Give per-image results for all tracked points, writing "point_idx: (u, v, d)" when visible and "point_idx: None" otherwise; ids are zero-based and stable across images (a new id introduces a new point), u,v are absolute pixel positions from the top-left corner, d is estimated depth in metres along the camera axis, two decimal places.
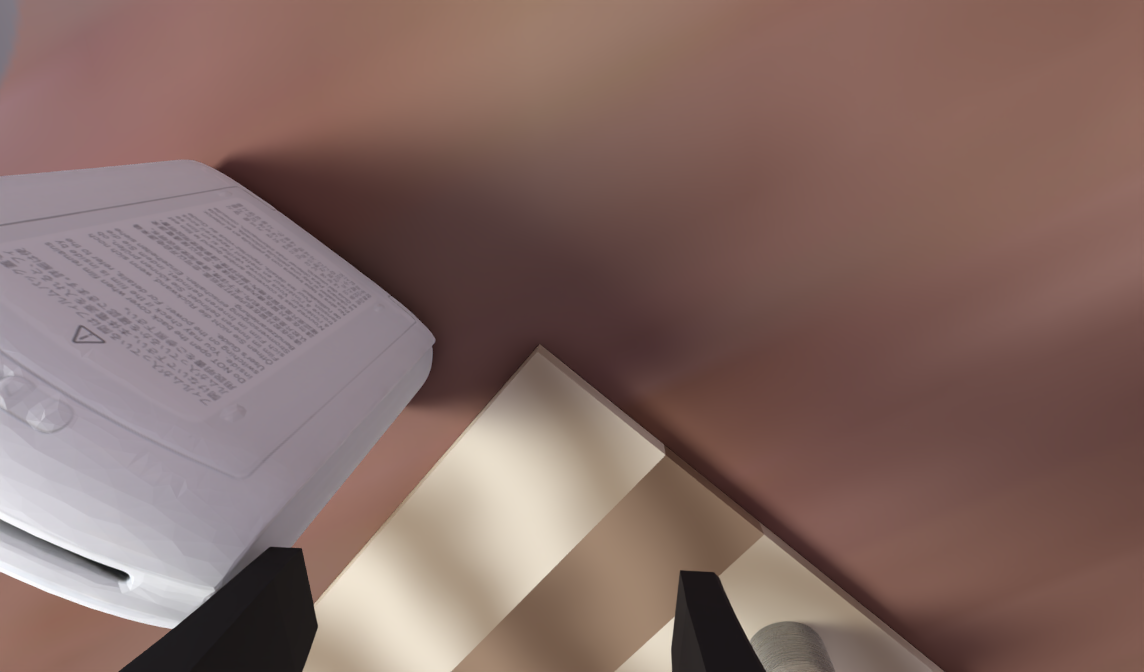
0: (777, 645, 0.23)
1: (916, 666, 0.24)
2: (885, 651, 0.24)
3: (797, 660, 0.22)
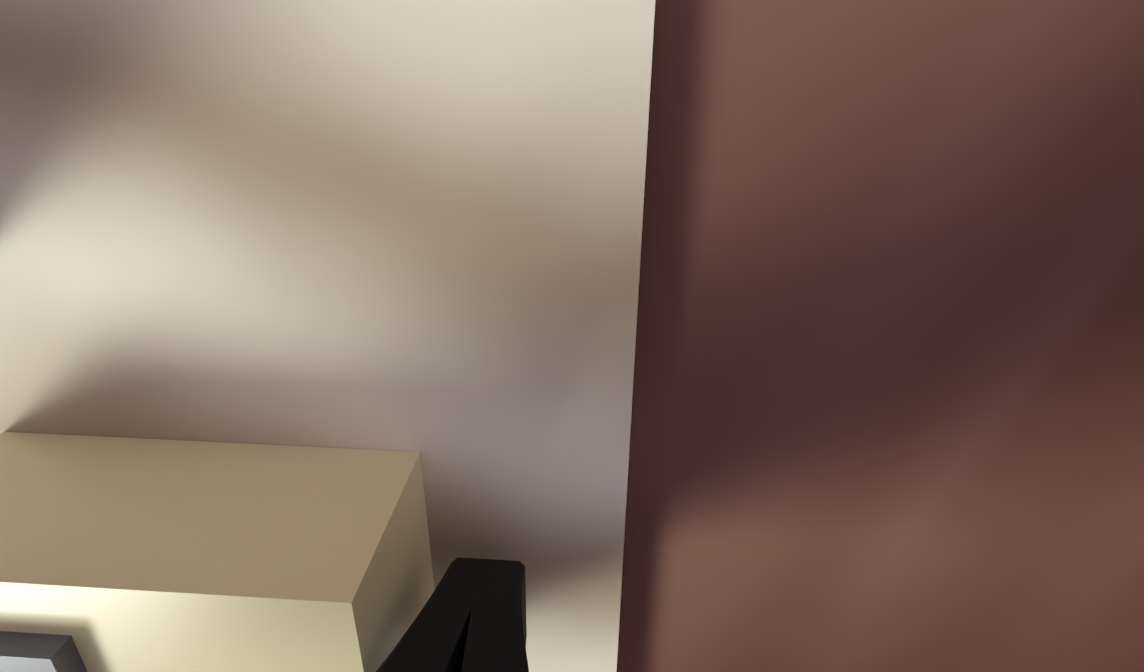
0: None
1: (63, 12, 0.09)
2: None
3: None
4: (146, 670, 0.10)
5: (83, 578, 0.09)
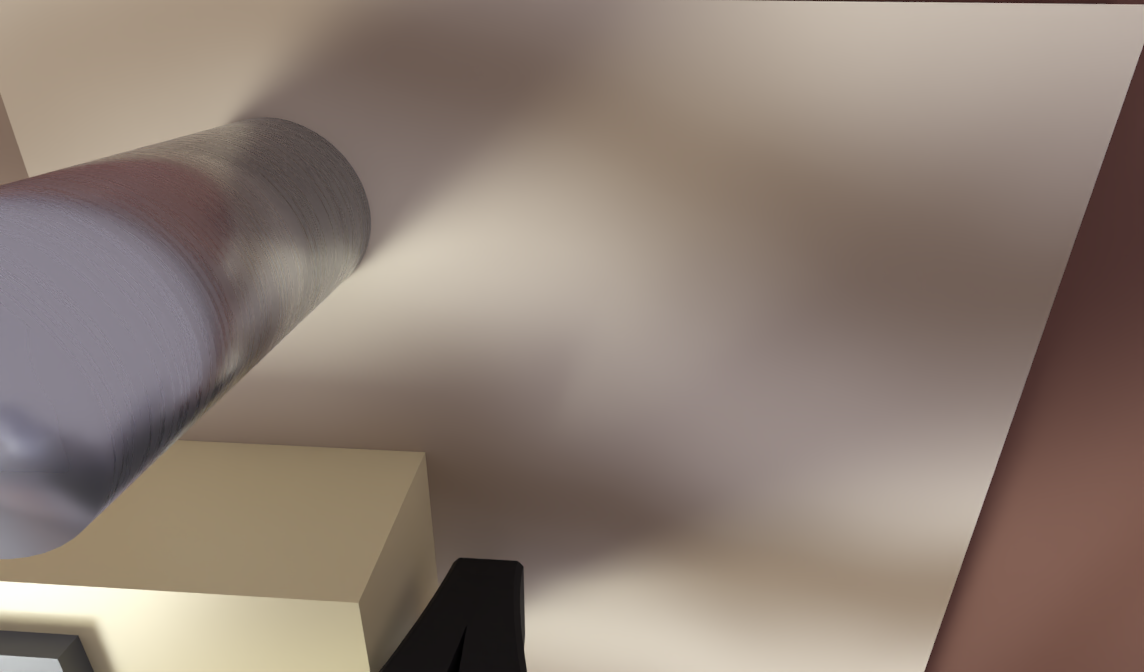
0: None
1: (516, 20, 0.09)
2: (426, 41, 0.09)
3: None
4: (153, 669, 0.10)
5: (90, 577, 0.09)
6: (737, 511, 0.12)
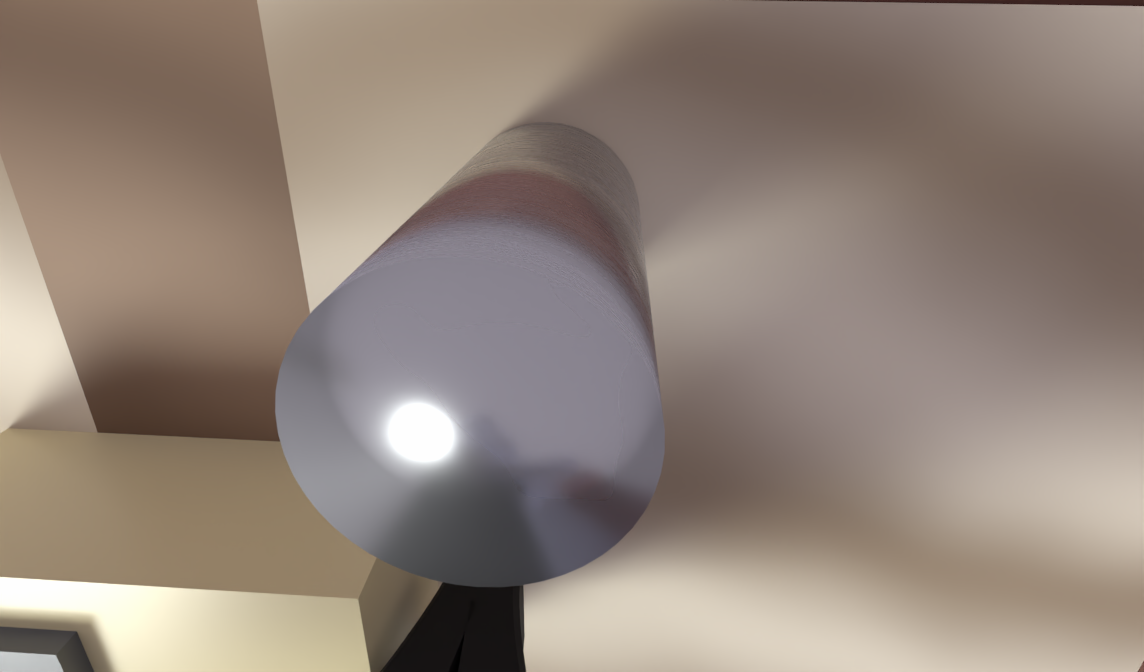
0: None
1: (829, 24, 0.09)
2: (731, 45, 0.09)
3: None
4: (152, 666, 0.10)
5: (88, 574, 0.09)
6: (966, 523, 0.12)
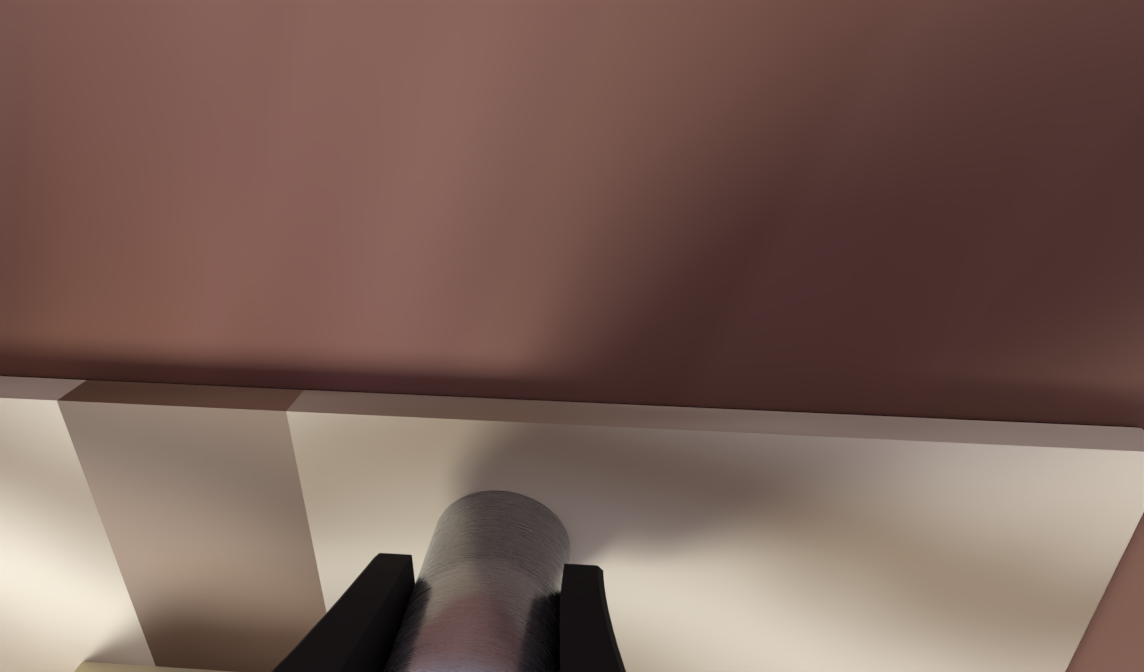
0: (424, 558, 0.12)
1: (699, 443, 0.12)
2: (630, 452, 0.12)
3: (424, 576, 0.12)
4: None
5: None
6: None
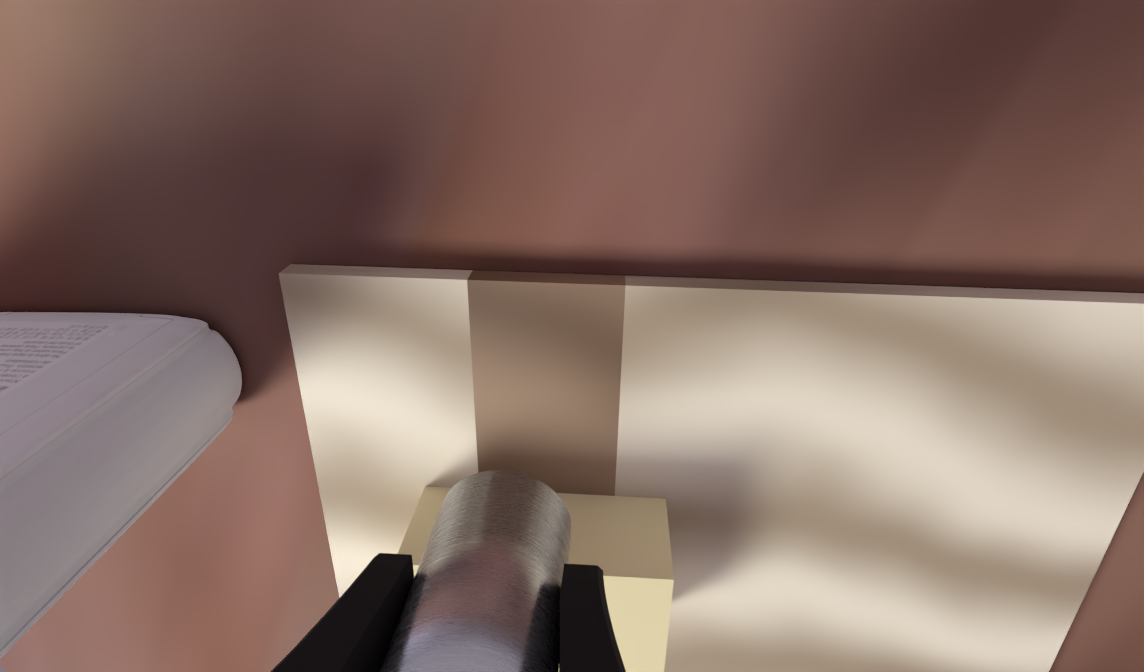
0: (430, 535, 0.13)
1: (905, 304, 0.18)
2: (857, 312, 0.19)
3: (430, 551, 0.12)
4: None
5: None
6: (970, 540, 0.22)
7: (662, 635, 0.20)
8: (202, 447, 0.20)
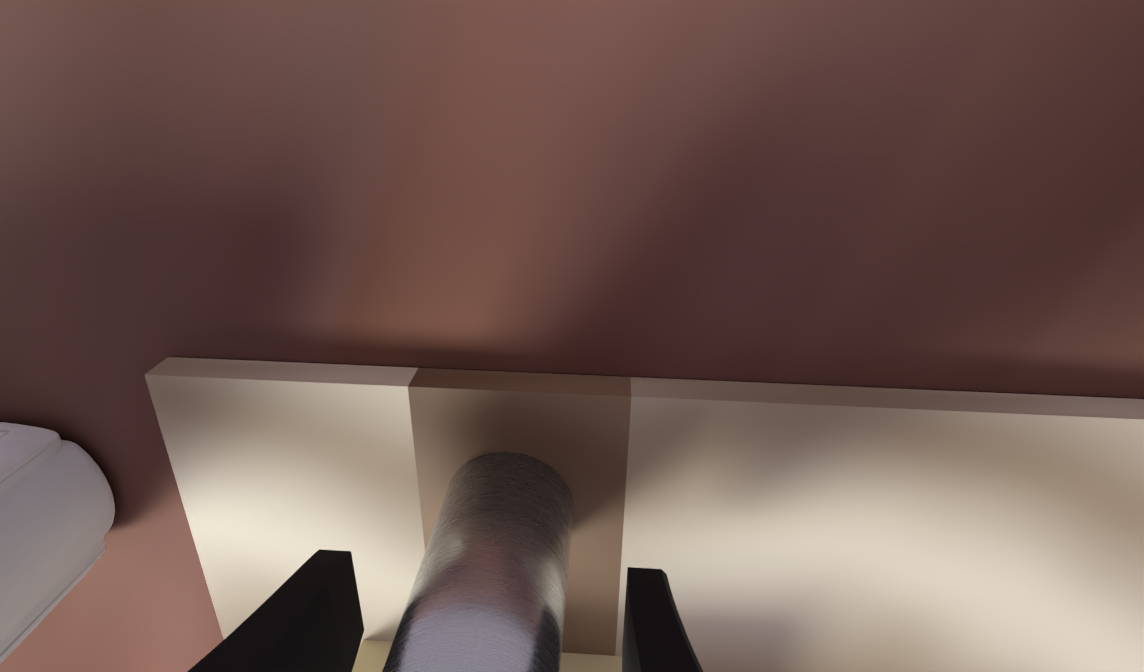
0: (438, 514, 0.13)
1: (1030, 426, 0.13)
2: (960, 435, 0.13)
3: (439, 528, 0.13)
4: None
5: None
6: None
7: None
8: (47, 607, 0.15)
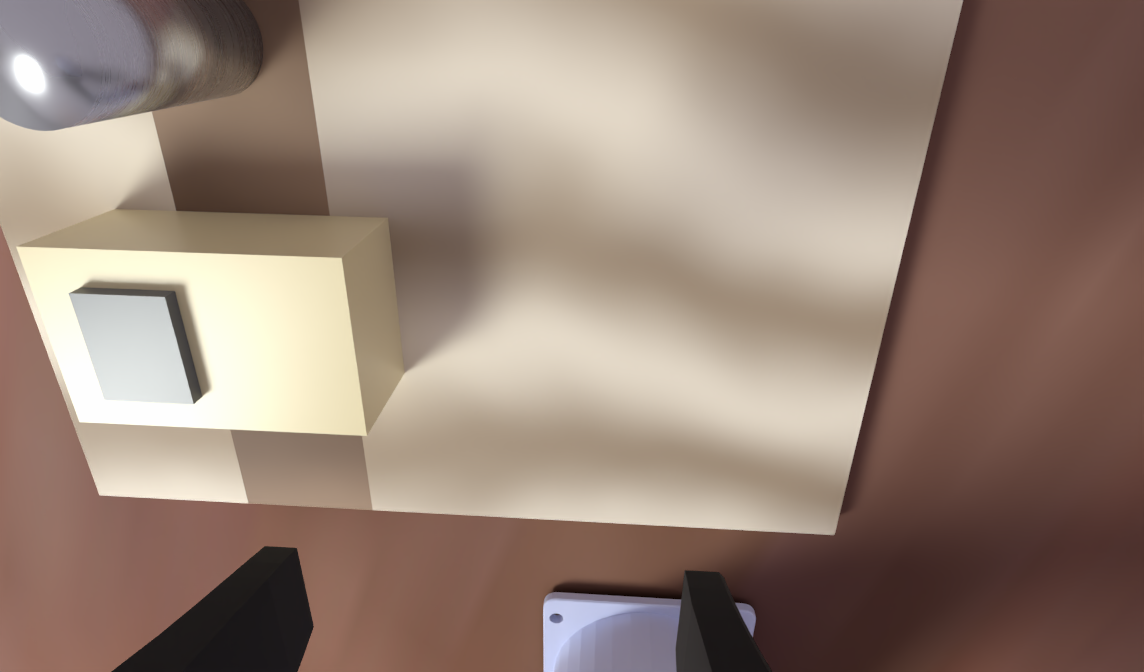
0: None
1: None
2: None
3: None
4: (218, 316, 0.16)
5: (184, 250, 0.16)
6: (741, 266, 0.19)
7: (347, 342, 0.17)
8: None
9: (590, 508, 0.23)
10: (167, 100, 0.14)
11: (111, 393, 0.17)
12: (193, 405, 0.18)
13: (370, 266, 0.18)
